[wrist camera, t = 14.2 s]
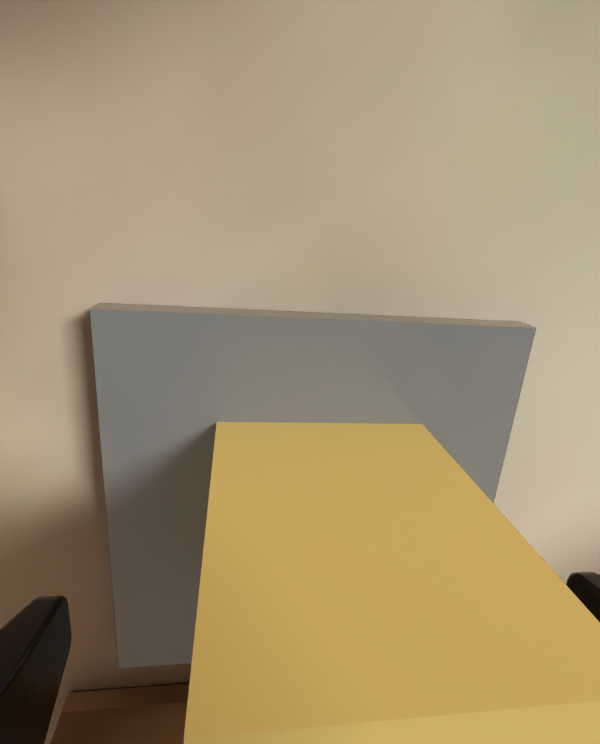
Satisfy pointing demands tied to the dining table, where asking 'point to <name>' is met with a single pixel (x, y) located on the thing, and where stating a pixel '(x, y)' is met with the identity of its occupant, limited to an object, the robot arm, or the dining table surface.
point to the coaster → (266, 404)
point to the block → (377, 601)
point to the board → (124, 716)
